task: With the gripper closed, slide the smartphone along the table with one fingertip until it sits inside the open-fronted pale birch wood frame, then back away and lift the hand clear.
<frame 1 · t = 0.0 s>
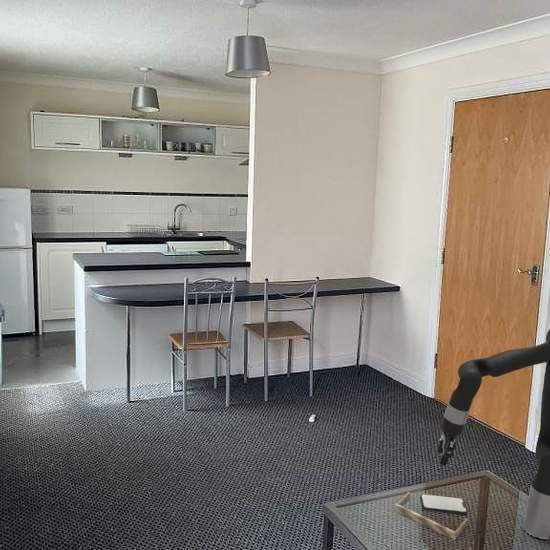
hand: (441, 458, 211), 22 cm above the table, tool pointing down, fingers open, 8 cm apart
smartphone: (442, 506, 222), on the table
wood frame: (430, 517, 214), on the table
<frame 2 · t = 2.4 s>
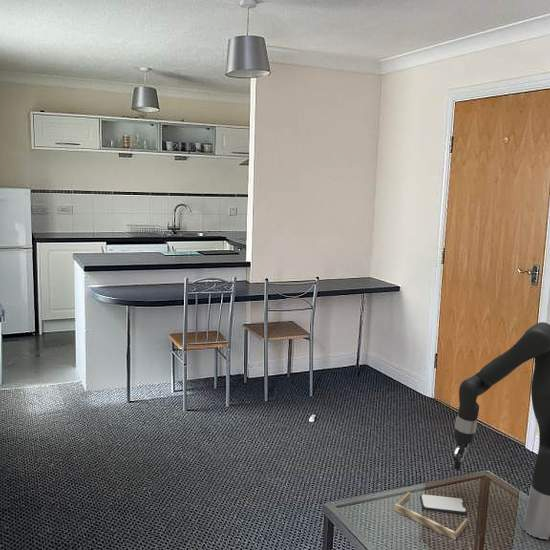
hand: (457, 468, 227), 11 cm above the table, tool pointing down, fingers closed
nothing on the table moved.
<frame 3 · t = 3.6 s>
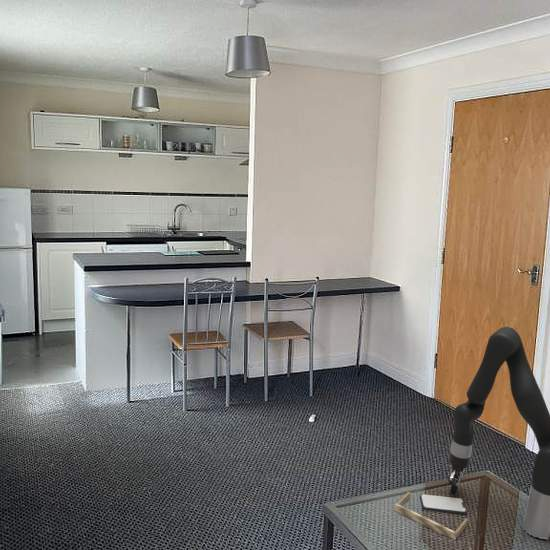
hand: (453, 492, 230), 1 cm above the table, tool pointing down, fingers closed
nothing on the table moved.
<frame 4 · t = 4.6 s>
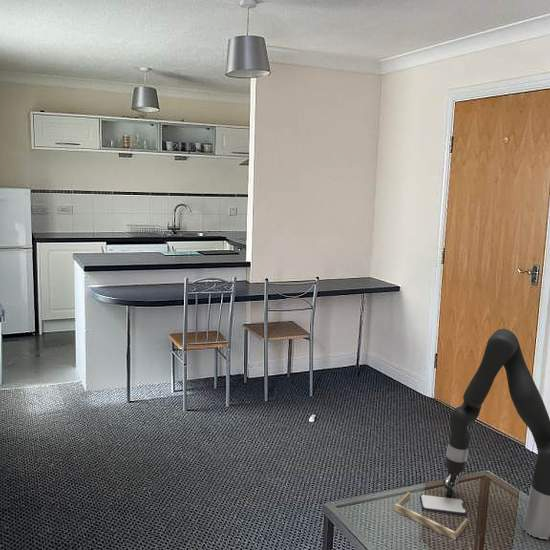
hand: (449, 496, 227), 1 cm above the table, tool pointing down, fingers closed
smartphone: (442, 507, 222), on the table, touching gripper
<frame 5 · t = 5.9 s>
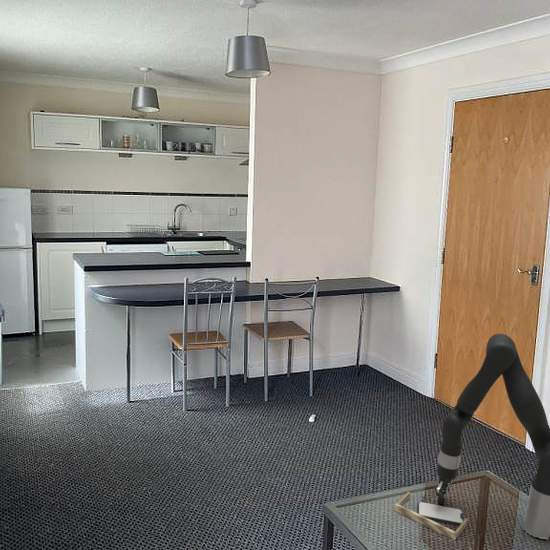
hand: (440, 504, 221), 1 cm above the table, tool pointing down, fingers closed
smartphone: (439, 516, 217), on the table, touching gripper
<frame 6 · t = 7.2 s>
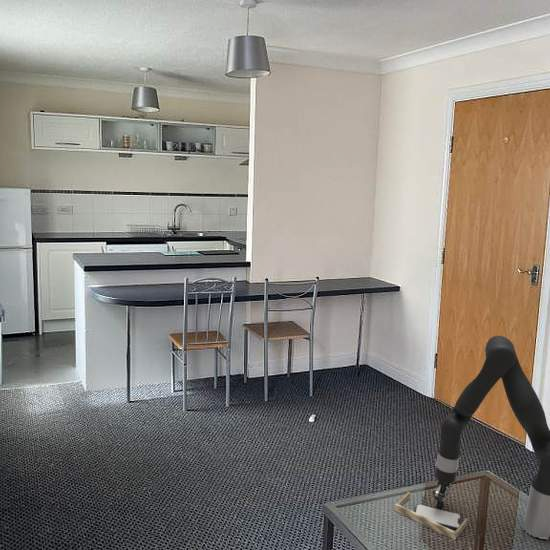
hand: (439, 507, 219), 1 cm above the table, tool pointing down, fingers closed
smartphone: (437, 519, 214), on the table, touching gripper
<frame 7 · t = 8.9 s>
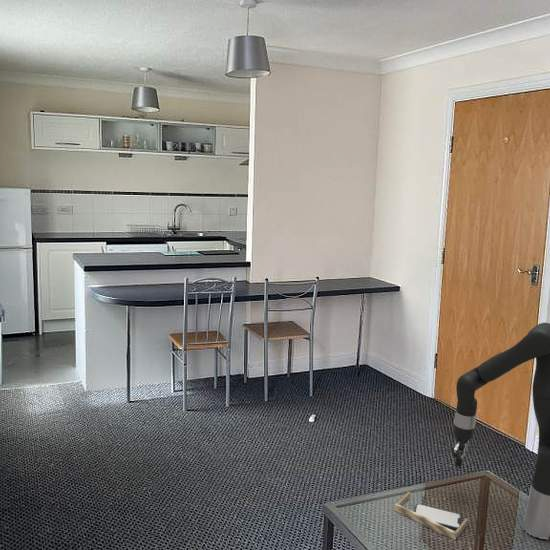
hand: (458, 465, 226), 13 cm above the table, tool pointing down, fingers closed
smartphone: (436, 519, 215), on the table
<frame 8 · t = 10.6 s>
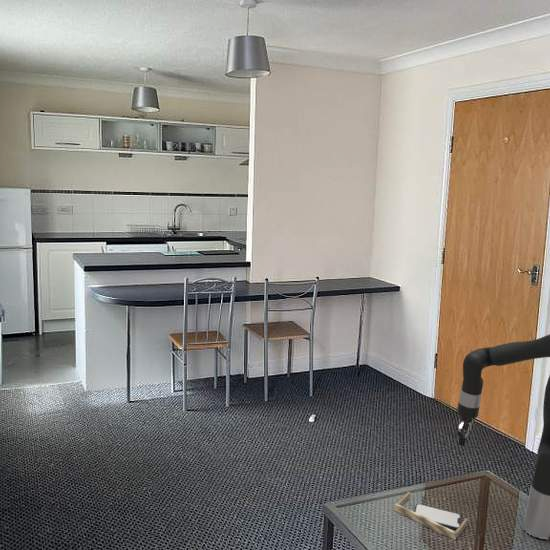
hand: (461, 444, 224), 21 cm above the table, tool pointing down, fingers closed
nothing on the table moved.
at the end: smartphone 1.4 cm from the target spot on the wood frame, point -0.6 cm above the wood frame's base; smartphone tilted 0°; the gripper is holding nothing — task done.
